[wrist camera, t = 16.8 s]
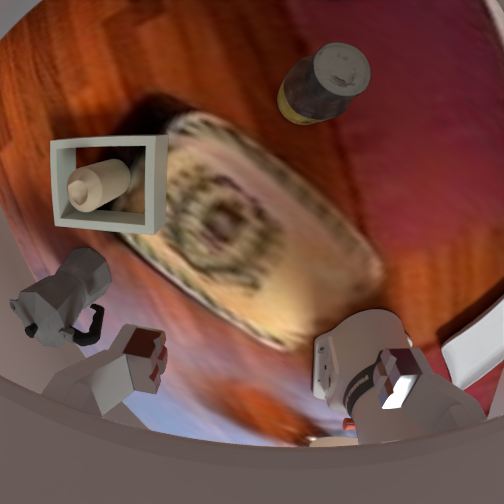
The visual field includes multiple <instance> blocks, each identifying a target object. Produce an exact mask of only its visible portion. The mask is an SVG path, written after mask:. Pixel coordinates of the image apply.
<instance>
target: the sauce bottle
mask: <svg viewBox="0 0 504 504" xmlns="http://www.w3.org/2000/svg"><path fill="white" fill-rule="evenodd" d="M370 78H371V71H370V66H369V63H368V61H367V59H366V58H365V56H364V55H363V54H362V53H361V51H359V50H358V49H357V48H355V47H353V46H352V45H349V44H345V43H343V42H340V43H339V42H334V43H329V44H326V45H324V46H323V47H321V48H320V49H319V50H318V51H317V52H316V54H315V55H310V56H307V57H304V58H302V59H300V60H299V61H297V62H296V63H295V64H294V65H293V66H292V68H291V69H290V70H289V71H288V73H287V75H286V77H285V79H284V81H283V83H282V85H281V87H280V89H279V92H278V95H277V103H278V107H279V109H280V112H281V113H282V115H283V116H284V117H285V118H286V119H287V120H289V121H291V122H293V123H295V124H299V125H309V124H313V123H317V122H322V121H325V120H329V119H332V118H335V117H337V116H339V115H340V114H342V113H343V112H344V111H345V110H346V109H347V108H348V106H349V104H350V101H351V98H353V97H355V96H357V95H359V94H360V93H362V92H363V91H364V90H365V89H366V88H367V86H368V84H369V82H370Z"/></svg>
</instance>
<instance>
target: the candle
mask: <svg viewBox="0 0 504 504" xmlns="http://www.w3.org/2000/svg"><path fill="white" fill-rule="evenodd" d="M130 182H131V174H130V171H129V168H128V167H127V165H126V164H125V163H124V162H122V161H120V160H117V159H111V160H106V161H103V162H99V163H95V164H92V165H88V166H85V167H81V168H78V169H76V170H74V171H73V172H72V173H71V175H70V176H69V178H68V181H67V196H68V199H69V201H70V203H71V204H72V205H73V206H74V207H75V208H76V209H77V210H79V211H81V212H90V211H93V210H94V209H96V208H98V207H100V206H102V205H104V204H105V203H107V202H109V201H111V200H113V199H115V198H117V197H118V196H120V195H122V194H123V193H125V192H126V190H127V189H128V188H129V185H130Z"/></svg>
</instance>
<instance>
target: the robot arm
mask: <svg viewBox="0 0 504 504" xmlns="http://www.w3.org/2000/svg"><path fill="white" fill-rule="evenodd" d="M165 341H166V334H165V332H164V331H162V330H157V329H152V328H147V327H142V326H136V325H131V324H125V325H124V326H123V327H122V329H121V330H120V332H119V334H118V335H117V337H116V338H115V340H114V342H113V343H112V345H111V346H110V348H109V350H103V351H101V352H99V353H96V354H94V355H92V356H90V357H88V358H86V359H84V360H82V361H80V362H78V363H76V364H74V365H72V366H70V367H67V368H65V369H63V370H61V371H59V372H57V373H55V374H54V376H53V377H52V379H51V380H50V382H49V383H48V385H47V386H46V388H45V389H44V391H43V392H42V394H41V395H40V394H38V393H36V392H33V391H31V390H29V389H27V388H25V387H23V386H20V385H18V384H16V383H14V382H12V381H10V380H8V379H6V378H4V377H2V376H1V375H0V504H504V414H503V415H500V416H497V417H494V418H491V419H487V418H486V416H485V414H484V412H483V410H482V408H481V406H480V405H479V403H478V401H477V400H476V399H475V398H473V397H472V396H470V395H469V394H467V393H466V392H464V391H463V390H461V389H460V388H458V387H457V386H455V385H454V384H452V383H451V382H449V381H448V380H446V379H445V378H443V377H442V376H440V375H439V374H437V373H436V374H434V372H433V370H432V369H431V367H430V365H429V363H428V361H427V360H426V358H425V356H424V354H423V353H422V351H421V349H420V348H418V347H413V348H411V347H412V340H411V338H410V337H409V336H408V335H407V334H406V333H405V331H404V328H403V325H402V322H401V320H400V319H399V318H398V317H397V316H396V315H395V314H393V313H392V312H389V311H386V310H381V309H372V310H366V311H362V312H359V313H356V314H354V315H352V316H350V317H348V318H347V319H345V320H344V321H343V322H341V323H340V324H339V325H338V326H337V327H336V328H334V329H333V330H332V331H330V332H327V333H325V334H322V335H320V336H319V337H317V338H316V339H315V342H314V368H313V395H314V396H315V397H317V398H319V399H322V400H326V401H327V405H328V407H329V408H330V409H331V410H334V411H336V412H341V413H348V414H349V416H350V417H351V418H352V419H351V418H345V419H344V420H343V429H344V430H349V429H356V433H357V438H358V442H359V445H353V446H337V447H268V446H252V445H240V444H230V443H221V442H213V441H206V440H199V439H193V438H187V437H181V436H175V435H170V434H165V433H160V432H156V431H151V430H147V429H143V428H139V427H134V426H131V425H127V424H123V423H120V422H116V421H113V420H109V419H106V418H103V416H102V415H104V414H105V413H106V412H107V411H109V410H110V409H111V408H113V407H114V406H115V405H117V404H118V403H119V402H121V401H122V400H123V399H125V398H126V397H127V396H129V395H130V394H131V393H133V392H134V390H136V391H141V392H146V393H151V394H156V393H157V390H158V388H159V385H160V382H161V379H160V375H161V374H163V373H164V371H165V368H166V364H167V348H166V347H165V346H164V344H165ZM321 347H323V348H321Z"/></svg>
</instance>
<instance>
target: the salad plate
mask: <svg viewBox="0 0 504 504" xmlns="http://www.w3.org/2000/svg"><path fill="white" fill-rule="evenodd" d="M441 351H442V354H443V357H444V359H445V361H446V364H447V366H448V369H449V372H450V375H451V378H452V383H453V384H454V385H455V386H457V387H458V388H460V389H461V390H464V389H465V388H467V387H468V386H470V385H471V384H473V383H474V382H476V381H477V380H478V379H480V378H481V377H482V376H484V375H485V374H486V373H488V372H489V371H490V370H491V369H493V368H494V367H495V366H496V365H498V364H499V363H500V362H501V361H502V360H504V294H503V295H502V296H501V297H500V298H499V299H498V300H497V301H496V302H495V303H493V304H492V305H491V306H490V307H489V308H488V309H487V310H485V311H484V312H483V313H482V314H481V315H479V316H478V317H477V318H476V319H474V320H473V321H472V322H471V323H469V324H468V325H467V326H465V327H464V328H462V329H461V330H460V331H458V332H457V333H455V334H454V335H453V336H451V337H450V338H449V339H447V340H446V341H445V342H444V344H443V345H442V348H441Z"/></svg>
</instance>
